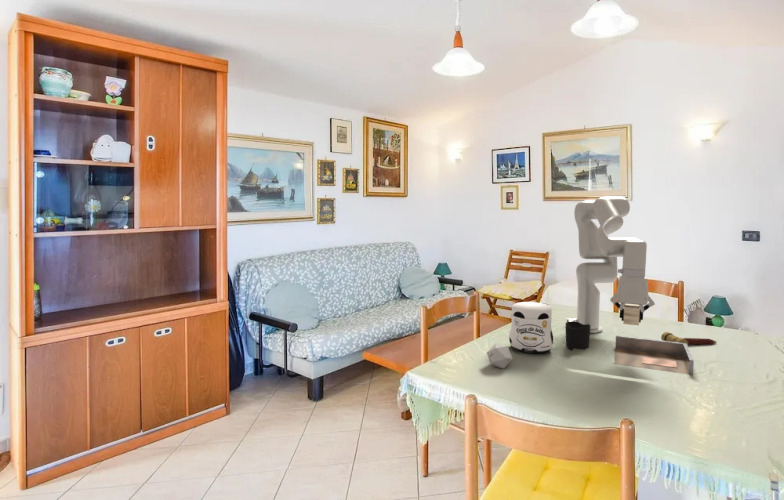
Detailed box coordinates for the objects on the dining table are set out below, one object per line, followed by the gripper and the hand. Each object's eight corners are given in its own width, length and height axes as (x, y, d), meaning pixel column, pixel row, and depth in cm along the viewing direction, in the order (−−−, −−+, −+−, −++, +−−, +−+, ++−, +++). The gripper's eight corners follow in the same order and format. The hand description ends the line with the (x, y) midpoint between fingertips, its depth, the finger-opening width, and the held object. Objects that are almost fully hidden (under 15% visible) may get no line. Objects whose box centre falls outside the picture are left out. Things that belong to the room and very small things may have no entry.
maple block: (638, 325, 163) (639, 309, 162) (623, 323, 165) (624, 308, 164) (638, 319, 171) (638, 303, 170) (623, 317, 173) (624, 302, 172)
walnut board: (614, 366, 164) (614, 363, 164) (615, 349, 181) (615, 346, 181) (692, 377, 153) (692, 374, 153) (685, 358, 170) (685, 355, 170)
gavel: (707, 333, 192) (726, 340, 182) (706, 343, 192) (725, 351, 183) (661, 331, 190) (678, 338, 180) (660, 342, 191) (676, 349, 181)
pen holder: (584, 344, 189) (585, 321, 188) (593, 351, 179) (594, 327, 178) (561, 344, 189) (562, 321, 188) (569, 352, 180) (570, 327, 179)
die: (488, 362, 171) (480, 346, 166) (507, 350, 172) (500, 335, 166) (498, 377, 165) (490, 361, 159) (518, 365, 165) (511, 349, 160)
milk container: (524, 358, 173) (525, 313, 171) (501, 344, 190) (501, 303, 188) (562, 353, 178) (563, 309, 176) (536, 340, 195) (537, 300, 193)
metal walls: (614, 363, 164) (615, 350, 163) (615, 347, 181) (615, 335, 181) (692, 374, 153) (693, 360, 152) (685, 356, 170) (686, 343, 170)
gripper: (607, 273, 166) (605, 320, 168) (660, 276, 158) (657, 326, 161) (608, 270, 173) (606, 315, 175) (659, 273, 165) (656, 320, 167)
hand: (630, 320), depth 168 cm, fingers closed on maple block, 5 cm apart
